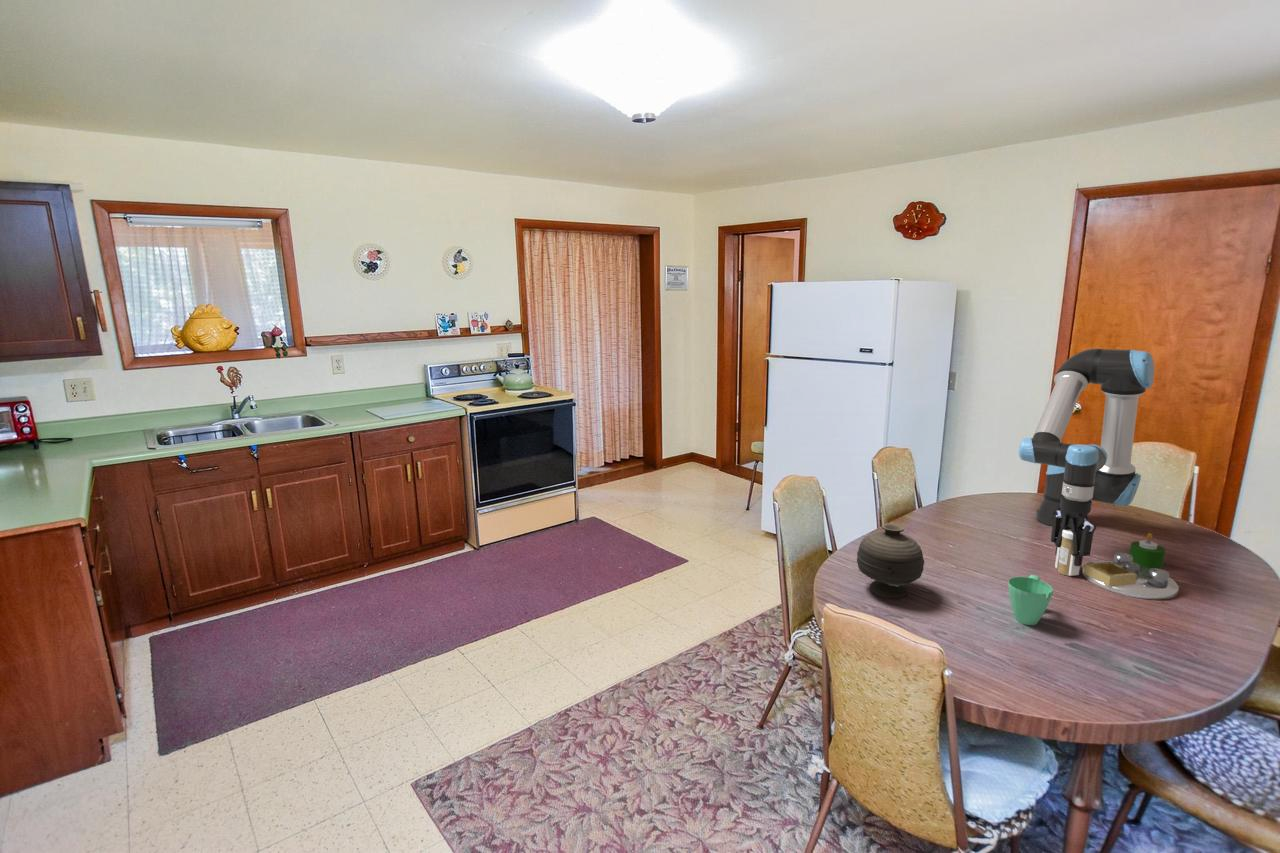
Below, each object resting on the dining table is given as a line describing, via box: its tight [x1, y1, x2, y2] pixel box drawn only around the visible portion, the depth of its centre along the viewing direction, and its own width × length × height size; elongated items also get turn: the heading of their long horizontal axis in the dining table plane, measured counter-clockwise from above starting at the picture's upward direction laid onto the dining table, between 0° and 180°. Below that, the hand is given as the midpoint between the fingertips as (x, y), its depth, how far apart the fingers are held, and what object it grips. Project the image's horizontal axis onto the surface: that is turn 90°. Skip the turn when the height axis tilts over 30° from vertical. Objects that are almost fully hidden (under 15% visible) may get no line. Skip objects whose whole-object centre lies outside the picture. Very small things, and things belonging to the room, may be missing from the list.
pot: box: [856, 522, 925, 600], centre depth 177 cm, size 18×18×20 cm
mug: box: [1007, 574, 1054, 626], centre depth 162 cm, size 15×10×10 cm
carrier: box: [1081, 551, 1179, 601], centre depth 180 cm, size 22×22×6 cm
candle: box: [1128, 532, 1166, 569], centre depth 191 cm, size 8×8×10 cm
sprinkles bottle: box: [1057, 529, 1074, 577], centre depth 185 cm, size 5×5×13 cm
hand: (1066, 570), depth 187 cm, fingers closed on sprinkles bottle, 4 cm apart
